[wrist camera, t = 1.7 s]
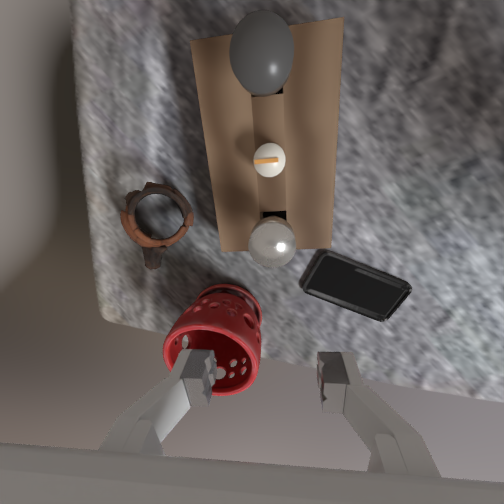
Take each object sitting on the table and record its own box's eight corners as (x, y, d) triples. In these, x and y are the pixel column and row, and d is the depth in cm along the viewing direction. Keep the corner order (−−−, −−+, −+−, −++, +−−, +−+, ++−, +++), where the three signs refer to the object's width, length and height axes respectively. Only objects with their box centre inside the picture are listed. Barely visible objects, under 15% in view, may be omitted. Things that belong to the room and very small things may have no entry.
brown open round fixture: (122, 183, 35) (113, 177, 28) (188, 187, 39) (197, 182, 31) (128, 264, 37) (121, 279, 30) (190, 260, 41) (198, 273, 33)
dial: (284, 141, 26) (285, 141, 23) (285, 172, 27) (286, 176, 24) (254, 144, 26) (252, 144, 24) (256, 175, 27) (254, 178, 25)
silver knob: (292, 204, 28) (295, 222, 22) (292, 240, 30) (296, 267, 24) (253, 206, 29) (246, 225, 23) (256, 242, 31) (250, 268, 25)
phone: (384, 323, 39) (300, 291, 38) (381, 318, 40) (299, 287, 39) (416, 286, 36) (324, 249, 35) (412, 282, 37) (323, 246, 36)
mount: (332, 38, 25) (344, 17, 21) (324, 233, 35) (331, 247, 30) (204, 56, 27) (189, 40, 23) (228, 237, 36) (221, 251, 32)
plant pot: (247, 265, 38) (234, 315, 27) (274, 327, 43) (273, 390, 32) (177, 286, 41) (141, 339, 31) (210, 342, 46) (188, 404, 35)
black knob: (289, 42, 22) (293, 4, 16) (290, 101, 24) (294, 87, 18) (240, 49, 23) (225, 16, 16) (244, 106, 25) (233, 95, 18)
